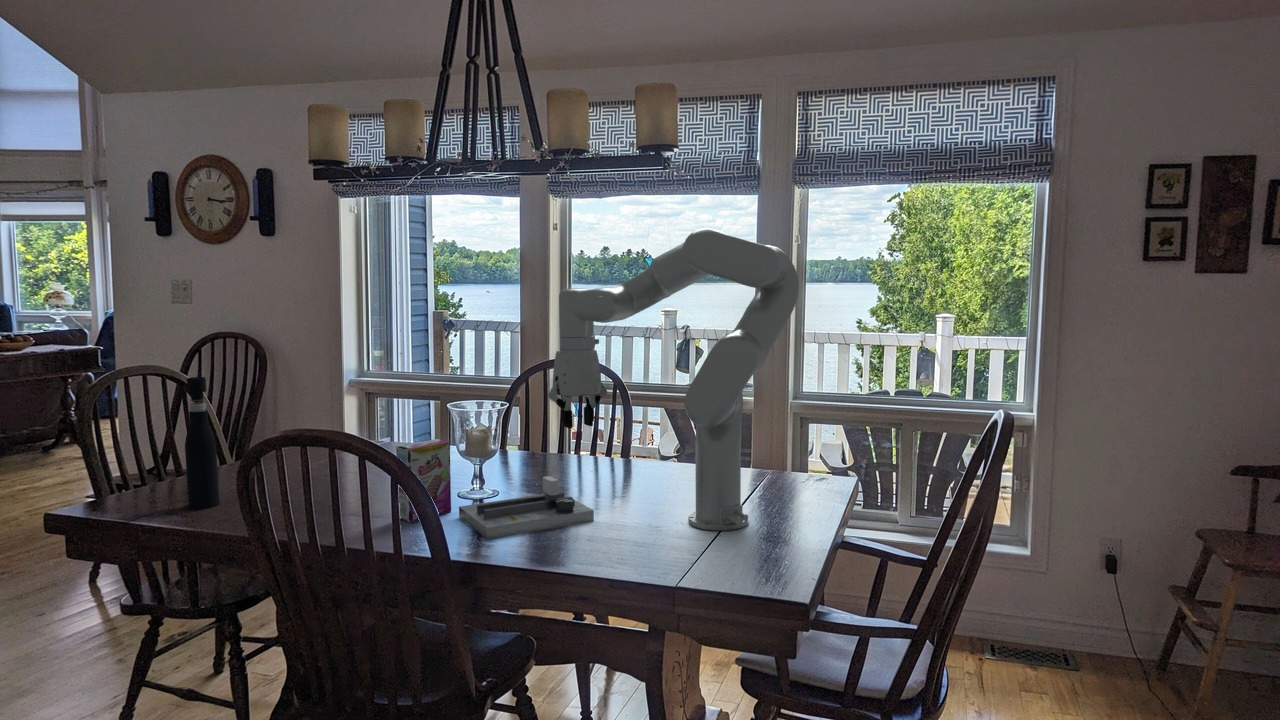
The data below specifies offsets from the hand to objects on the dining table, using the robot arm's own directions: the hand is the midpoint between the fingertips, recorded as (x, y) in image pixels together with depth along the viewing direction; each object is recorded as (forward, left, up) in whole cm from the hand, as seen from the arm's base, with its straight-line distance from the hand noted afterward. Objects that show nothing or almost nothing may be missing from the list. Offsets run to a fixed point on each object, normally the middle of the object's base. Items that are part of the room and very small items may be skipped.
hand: (578, 425), depth 190 cm
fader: (0, +7, -17) cm, 18 cm away
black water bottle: (+50, +73, -20) cm, 91 cm away
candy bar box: (+14, +31, -20) cm, 39 cm away
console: (0, +13, -19) cm, 23 cm away
